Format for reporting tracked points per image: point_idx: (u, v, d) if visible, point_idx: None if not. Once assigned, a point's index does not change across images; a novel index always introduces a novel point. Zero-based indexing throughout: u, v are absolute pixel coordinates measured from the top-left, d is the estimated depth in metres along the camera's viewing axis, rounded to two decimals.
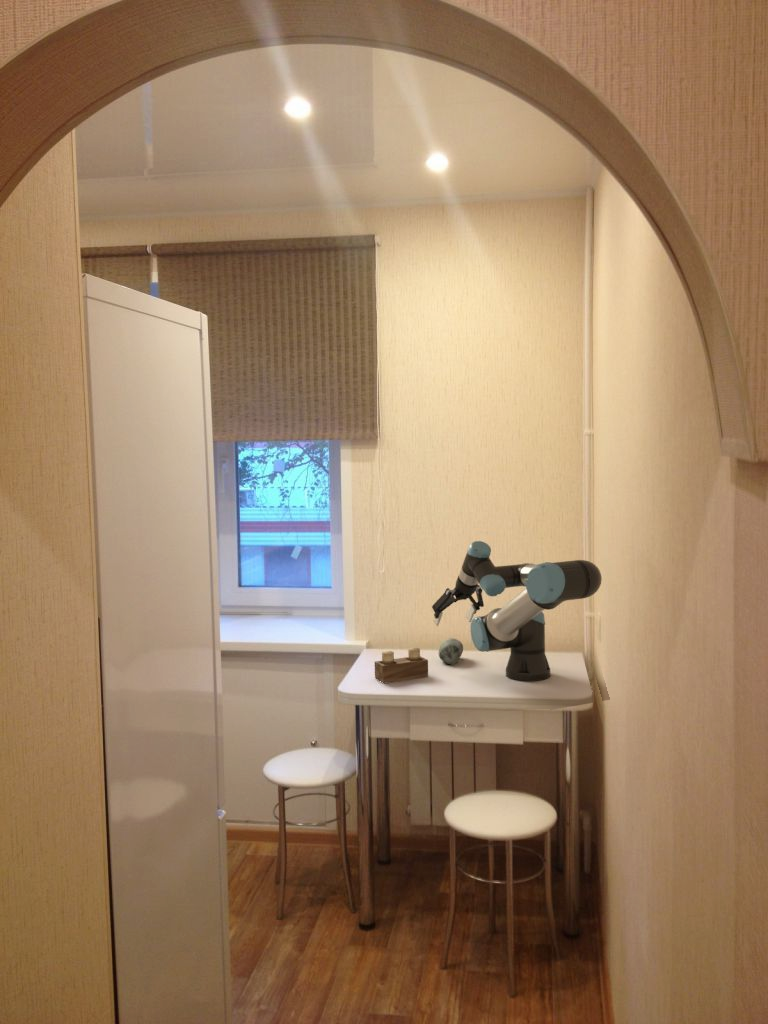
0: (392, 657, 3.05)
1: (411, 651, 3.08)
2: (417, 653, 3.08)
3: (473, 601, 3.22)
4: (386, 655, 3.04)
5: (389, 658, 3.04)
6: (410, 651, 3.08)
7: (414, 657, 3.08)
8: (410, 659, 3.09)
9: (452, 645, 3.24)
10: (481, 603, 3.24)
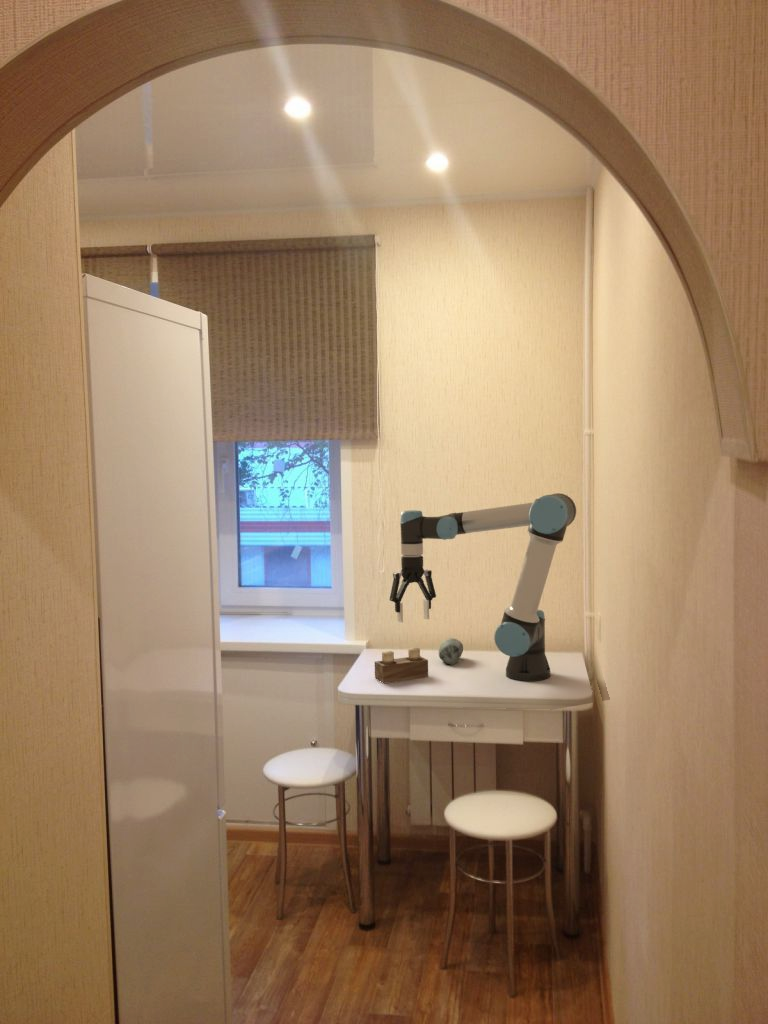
0: (392, 657, 3.05)
1: (411, 651, 3.08)
2: (417, 653, 3.08)
3: (424, 587, 3.09)
4: (386, 655, 3.04)
5: (389, 658, 3.04)
6: (410, 651, 3.08)
7: (414, 657, 3.08)
8: (410, 659, 3.09)
9: (452, 645, 3.24)
10: (433, 591, 3.10)
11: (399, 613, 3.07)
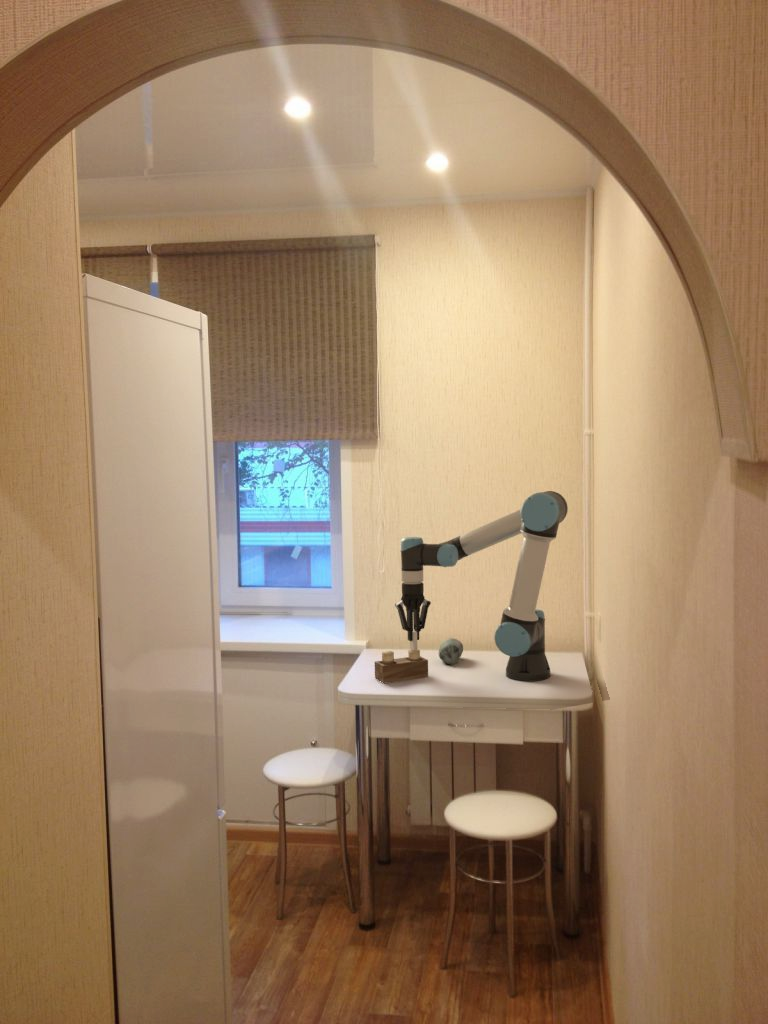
0: (392, 657, 3.05)
1: (411, 653, 3.08)
2: (417, 655, 3.08)
3: (418, 616, 3.09)
4: (386, 655, 3.04)
5: (389, 658, 3.04)
6: (410, 653, 3.08)
7: (415, 658, 3.08)
8: None
9: (452, 645, 3.24)
10: (423, 622, 3.10)
11: (412, 642, 3.09)
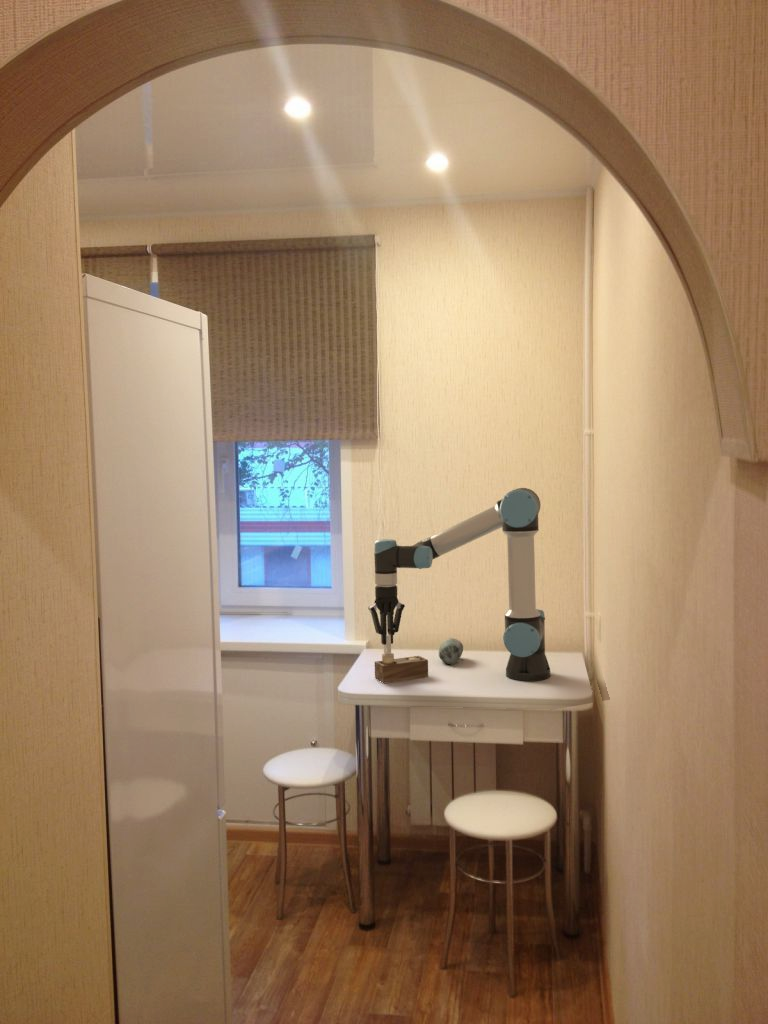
0: (392, 659, 3.05)
1: None
2: None
3: (391, 619, 3.04)
4: (386, 657, 3.04)
5: (389, 660, 3.04)
6: None
7: None
8: None
9: (452, 645, 3.24)
10: (397, 626, 3.05)
11: (385, 645, 3.05)
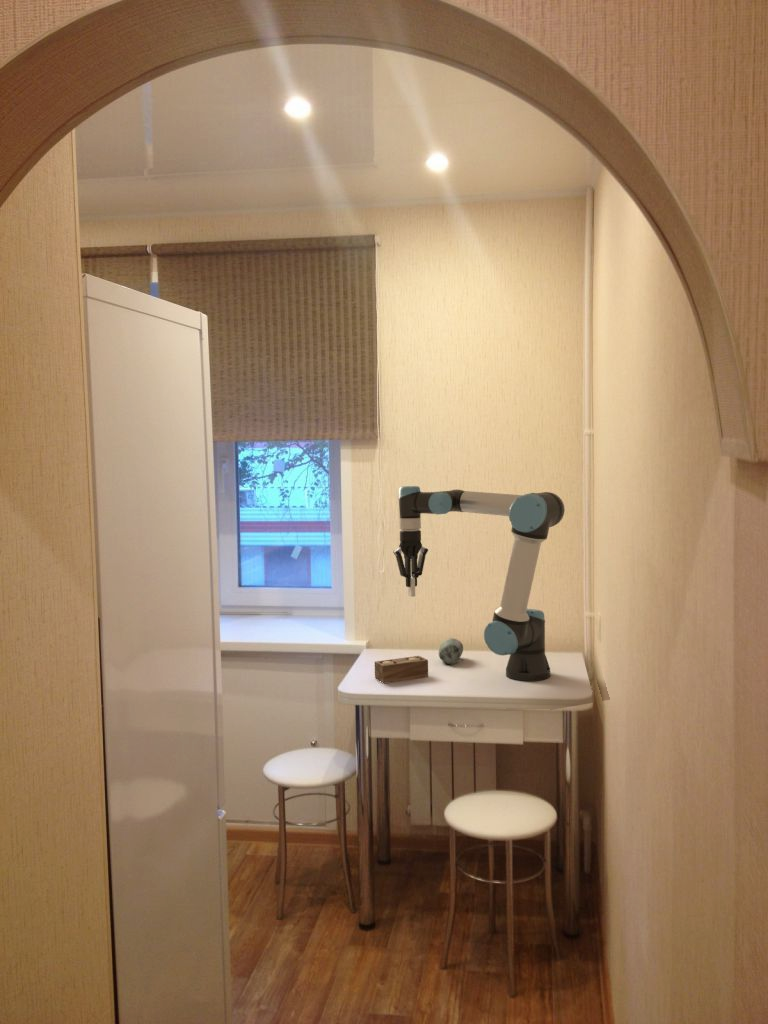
0: None
1: None
2: None
3: (415, 563, 3.17)
4: None
5: None
6: None
7: None
8: None
9: (452, 645, 3.24)
10: (421, 569, 3.18)
11: (410, 588, 3.18)
